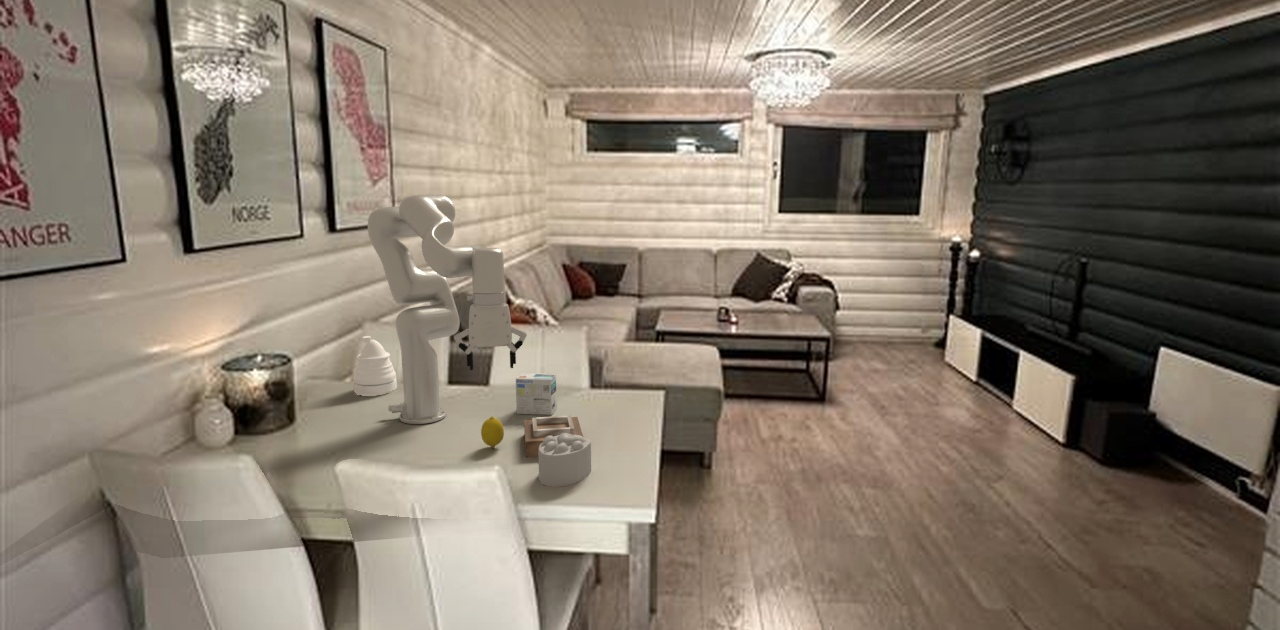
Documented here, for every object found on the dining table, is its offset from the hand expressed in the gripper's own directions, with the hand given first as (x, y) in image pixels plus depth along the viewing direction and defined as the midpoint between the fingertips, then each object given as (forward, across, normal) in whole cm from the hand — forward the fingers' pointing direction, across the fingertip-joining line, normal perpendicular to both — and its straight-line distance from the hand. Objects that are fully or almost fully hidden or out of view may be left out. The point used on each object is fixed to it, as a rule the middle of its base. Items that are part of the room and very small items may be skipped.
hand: (491, 367), depth 170 cm
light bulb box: (+21, +12, +27) cm, 36 cm away
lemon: (+21, 0, 0) cm, 21 cm away
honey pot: (+20, -38, +57) cm, 72 cm away
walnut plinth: (+20, +14, 0) cm, 25 cm away
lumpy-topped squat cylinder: (+21, +15, -20) cm, 33 cm away
